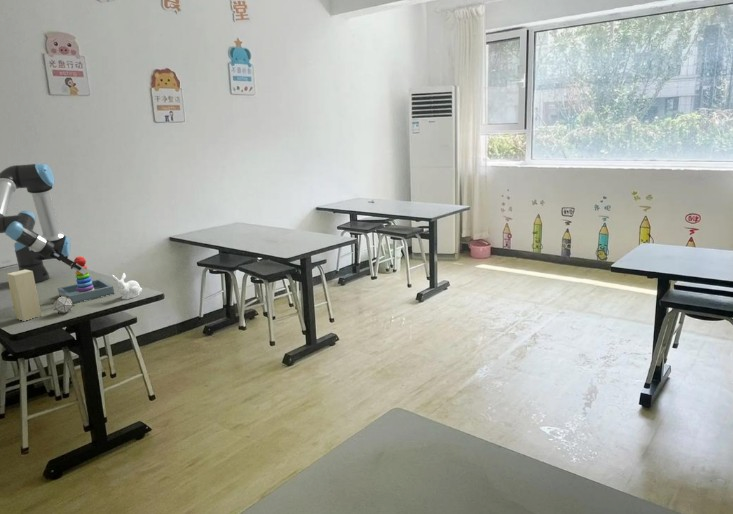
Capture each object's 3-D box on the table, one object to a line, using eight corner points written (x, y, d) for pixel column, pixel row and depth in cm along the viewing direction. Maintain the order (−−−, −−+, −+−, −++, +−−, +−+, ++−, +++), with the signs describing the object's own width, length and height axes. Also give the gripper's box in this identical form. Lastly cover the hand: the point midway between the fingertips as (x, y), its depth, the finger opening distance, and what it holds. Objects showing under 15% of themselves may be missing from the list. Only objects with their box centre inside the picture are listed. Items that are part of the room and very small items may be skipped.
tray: (59, 295, 271) (57, 288, 270) (101, 286, 284) (100, 278, 283) (70, 304, 257) (68, 296, 256) (114, 294, 269) (113, 286, 268)
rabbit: (124, 301, 257) (119, 277, 254) (112, 298, 262) (108, 274, 259) (146, 294, 267) (142, 270, 264) (134, 291, 272) (131, 268, 269)
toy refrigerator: (34, 313, 247) (24, 268, 241) (42, 316, 243) (32, 270, 237) (15, 319, 240) (5, 273, 235) (23, 322, 236) (13, 275, 231)
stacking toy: (98, 290, 274) (92, 254, 269) (88, 295, 266) (82, 258, 261) (83, 290, 274) (77, 254, 270) (73, 296, 267) (66, 259, 262)
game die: (63, 320, 247) (58, 300, 250) (80, 312, 247) (75, 292, 250) (50, 317, 239) (45, 296, 242) (67, 309, 239) (62, 288, 242)
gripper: (30, 248, 261) (69, 271, 275) (43, 257, 243) (84, 281, 257) (40, 235, 263) (79, 259, 277) (53, 243, 245) (94, 268, 259)
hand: (82, 270), depth 267 cm, fingers open, 13 cm apart
